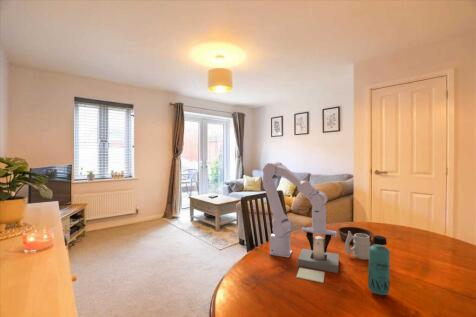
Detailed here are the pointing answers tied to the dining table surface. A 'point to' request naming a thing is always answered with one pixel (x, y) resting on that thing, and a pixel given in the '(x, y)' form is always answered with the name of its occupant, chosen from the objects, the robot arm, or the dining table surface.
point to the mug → (358, 245)
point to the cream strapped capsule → (319, 248)
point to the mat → (311, 275)
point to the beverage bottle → (379, 266)
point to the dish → (353, 232)
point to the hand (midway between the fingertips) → (318, 250)
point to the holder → (319, 261)
